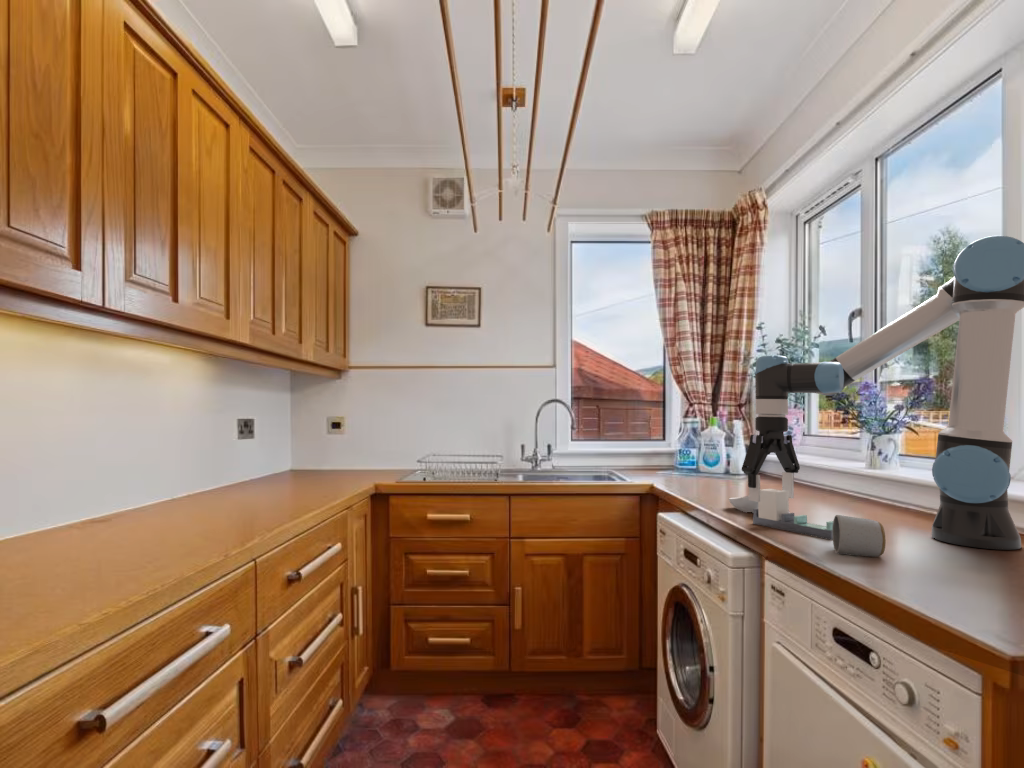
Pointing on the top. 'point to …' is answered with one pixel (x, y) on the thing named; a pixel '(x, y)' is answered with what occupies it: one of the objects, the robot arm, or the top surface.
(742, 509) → the spoon rest
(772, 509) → the nylon block
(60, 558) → the top surface
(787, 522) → the rail
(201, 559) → the top surface
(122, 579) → the top surface
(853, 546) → the grey cylinder
